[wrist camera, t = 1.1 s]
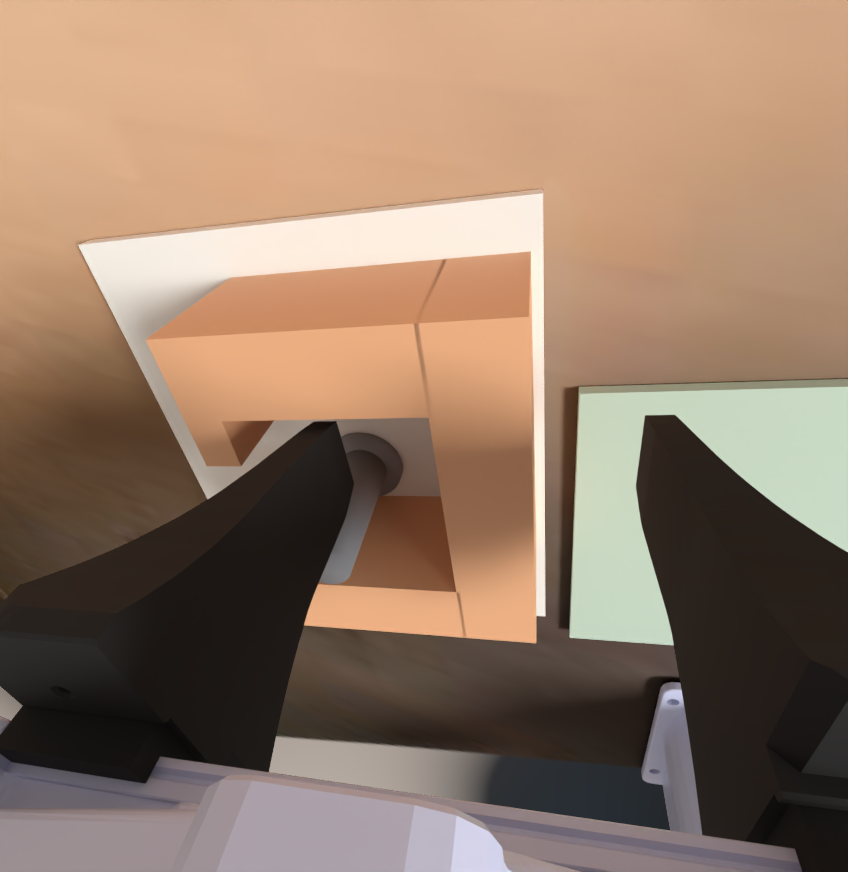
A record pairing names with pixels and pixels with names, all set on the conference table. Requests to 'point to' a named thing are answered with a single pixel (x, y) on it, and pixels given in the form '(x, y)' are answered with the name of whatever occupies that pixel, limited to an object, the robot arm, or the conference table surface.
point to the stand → (317, 250)
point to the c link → (388, 398)
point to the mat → (733, 443)
